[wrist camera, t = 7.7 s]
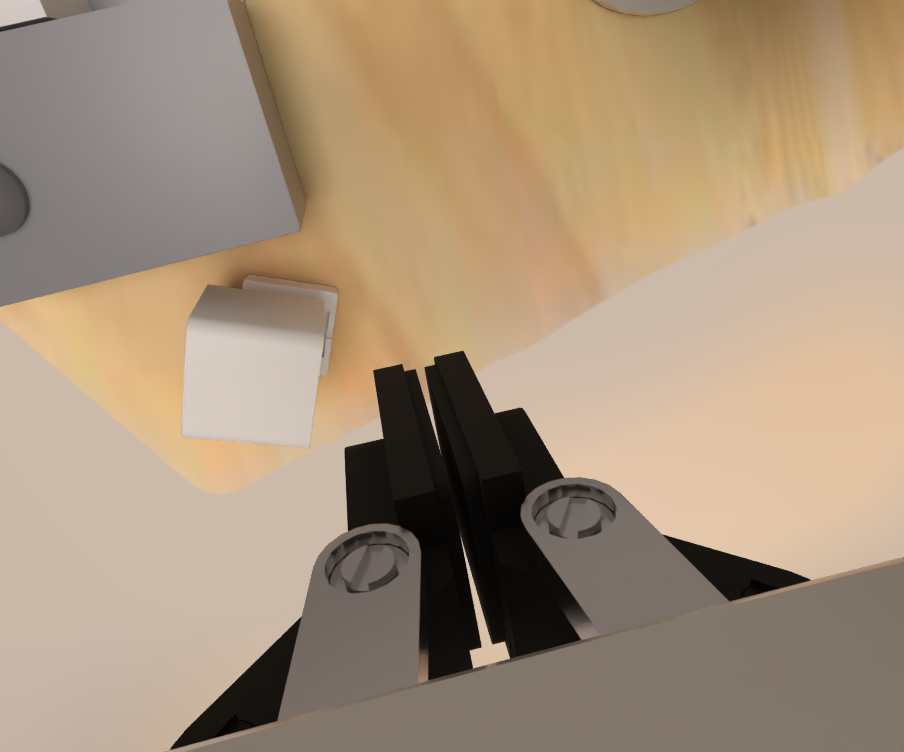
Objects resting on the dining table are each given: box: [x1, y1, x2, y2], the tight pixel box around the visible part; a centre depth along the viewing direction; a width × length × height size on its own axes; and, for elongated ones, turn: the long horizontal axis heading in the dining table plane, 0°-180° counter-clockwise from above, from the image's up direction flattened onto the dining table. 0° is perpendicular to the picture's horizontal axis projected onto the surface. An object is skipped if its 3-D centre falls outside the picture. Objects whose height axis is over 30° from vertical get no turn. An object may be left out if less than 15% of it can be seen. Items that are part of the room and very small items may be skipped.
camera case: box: [0, 0, 306, 307], centre depth 29 cm, size 15×12×9 cm
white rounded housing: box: [181, 274, 338, 448], centre depth 35 cm, size 6×7×10 cm
